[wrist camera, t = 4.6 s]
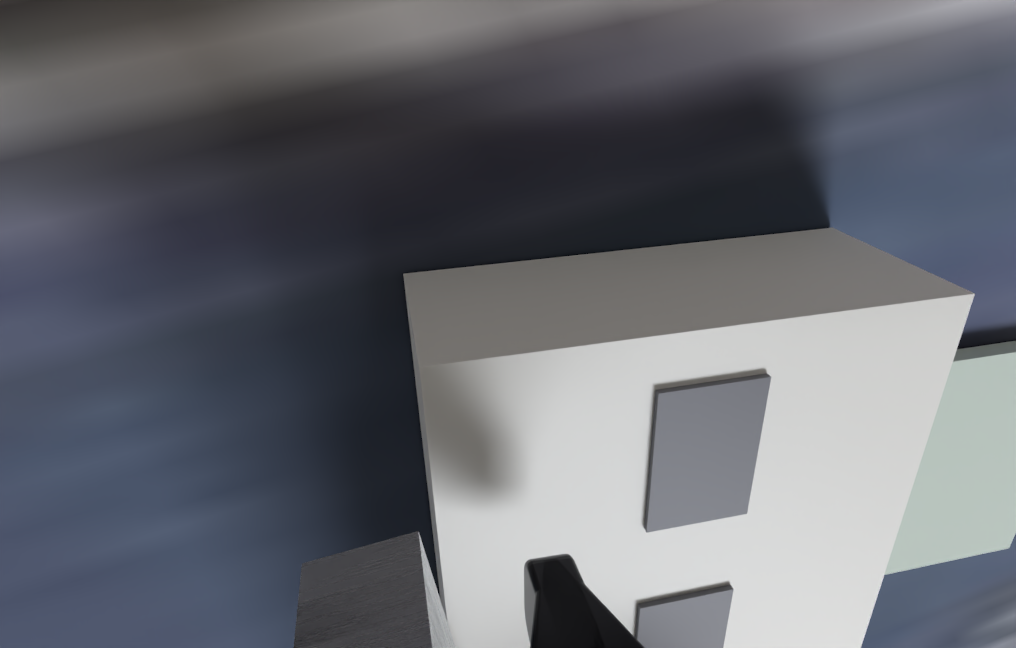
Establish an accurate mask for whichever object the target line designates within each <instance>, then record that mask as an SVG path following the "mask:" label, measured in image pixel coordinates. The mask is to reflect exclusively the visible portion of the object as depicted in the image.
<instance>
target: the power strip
mask: <svg viewBox="0 0 1016 648" xmlns="http://www.w3.org/2000/svg"><path fill="white" fill-rule="evenodd" d="M403 277H404V286H405V294H406V303H407V312H408V321H409V329H410V338H411V347H412V356H413V364H414V373H415V382H416V391H417V399H418V408H419V417H420V426H421V434H422V443H423V452H424V460H425V469H426V478H427V487H428V495H429V504H430V513H431V522H432V530H433V539H434V548H435V557H436V565H437V574H438V583H439V592H440V600H441V604H442V607H443V610H444V613H445V616H446V619H447V622H448V626H449V629H450V632H451V635H452V638H453V641H454V644H455V648H530V642H529V636H528V631H527V626H526V619H525V610H524V565H525V562H526V561H527V560H529V559H534V558H541V557H547V556H553V555H560V554H569V555H571V556H572V558H573V559H574V561H575V563H576V565H577V568H578V570H579V572H580V574H581V577H582V579H583V581H584V583H585V585H586V586H587V587H588V588H589V589H590V590H591V591H592V592H593V594H594V595H595V596H596V597H597V598H598V599H599V600H600V601H601V602H602V603H603V604H604V605H605V606H606V607H607V608H608V609H609V610H610V612H611V613H612V614H613V615H614V616H615V617H616V618H617V619H618V620H619V621H620V622H621V623H622V624H623V625H624V626H625V627H626V628H627V629H628V631H629V632H630V633H631V634H632V635H633V636H634V637H635V638H636V639H637V640H638V641H639V642H640V643H641V644H642V645H643V646H644V647H645V648H861V645H862V642H863V639H864V636H865V633H866V630H867V627H868V624H869V621H870V617H871V614H872V611H873V608H874V605H875V602H876V599H877V596H878V593H879V590H880V586H881V583H882V580H883V577H884V574H885V571H886V568H887V565H888V562H889V558H890V555H891V552H892V549H893V546H894V543H895V540H896V537H897V534H898V531H899V527H900V524H901V521H902V518H903V515H904V512H905V509H906V506H907V503H908V499H909V496H910V493H911V490H912V487H913V484H914V481H915V478H916V475H917V472H918V468H919V465H920V462H921V459H922V456H923V453H924V450H925V447H926V444H927V441H928V437H929V434H930V431H931V428H932V425H933V422H934V419H935V416H936V413H937V409H938V406H939V403H940V400H941V397H942V394H943V391H944V388H945V385H946V382H947V378H948V375H949V372H950V369H951V366H952V363H953V360H954V357H955V354H956V351H957V347H958V344H959V341H960V338H961V335H962V332H963V329H964V326H965V323H966V319H967V316H968V313H969V310H970V307H971V304H972V301H973V298H974V295H975V294H974V293H972V292H970V291H968V290H966V289H964V288H962V287H959V286H957V285H955V284H953V283H951V282H949V281H946V280H944V279H942V278H940V277H938V276H936V275H933V274H931V273H929V272H927V271H925V270H923V269H920V268H918V267H916V266H914V265H912V264H910V263H907V262H905V261H903V260H901V259H899V258H897V257H895V256H892V255H890V254H888V253H886V252H884V251H882V250H879V249H877V248H875V247H873V246H871V245H869V244H866V243H864V242H862V241H860V240H858V239H856V238H853V237H851V236H849V235H847V234H845V233H843V232H841V231H838V230H836V229H834V228H825V229H815V230H806V231H797V232H787V233H778V234H769V235H760V236H750V237H741V238H732V239H722V240H713V241H704V242H694V243H685V244H676V245H666V246H657V247H648V248H638V249H629V250H620V251H610V252H601V253H592V254H582V255H573V256H564V257H554V258H545V259H536V260H526V261H517V262H508V263H499V264H489V265H480V266H471V267H461V268H452V269H443V270H433V271H424V272H415V273H405V274H403Z"/></svg>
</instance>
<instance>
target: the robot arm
mask: <svg viewBox="0 0 1016 648" xmlns="http://www.w3.org/2000/svg"><path fill="white" fill-rule="evenodd" d="M524 610H525V619H526V626H527V631H528V636H529V642H530V648H645V647H644V646H643V645H642V644H641V643H640V642H639V641H638V640H637V639H636V638H635V637H634V636H633V635H632V634H631V633H630V632H629V631H628V629H627V628H626V627H625V626H624V625H623V624H622V623H621V622H620V621H619V620H618V619H617V618H616V617H615V616H614V615H613V614H612V613H611V612H610V610H609V609H608V608H607V607H606V606H605V605H604V604H603V603H602V602H601V601H600V600H599V599H598V598H597V597H596V596H595V595H594V594H593V592H592V591H591V590H590V589H589V588H588V587H587V586H586V585H585V583H584V581H583V579H582V577H581V574H580V572H579V570H578V568H577V565H576V563H575V561H574V559H573V558H572V556H571V555H569V554H560V555H553V556H547V557H541V558H534V559H529V560H527V561H526V562H525V565H524Z"/></svg>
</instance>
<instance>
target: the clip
mask: <svg viewBox="0 0 1016 648" xmlns="http://www.w3.org/2000/svg"><path fill="white" fill-rule="evenodd" d="M294 648H455V644H454V641H453V638H452V635H451V632H450V629H449V626H448V622H447V619H446V616H445V613H444V610H443V607H442V604H441V600H440V597H439V594H438V591H437V588H436V585H435V581H434V578H433V575H432V572H431V569H430V566H429V563H428V559H427V556H426V553H425V550H424V547H423V544H422V541H421V537H420V534H419V531H417V532H413V533H410V534H406V535H402V536H399V537H395V538H392V539H388V540H385V541H381V542H377V543H374V544H370V545H367V546H363V547H360V548H356V549H352V550H349V551H345V552H342V553H338V554H335V555H331V556H327V557H324V558H320V559H317V560H313V561H310V562H306V563H302V569H301V579H300V589H299V599H298V609H297V619H296V629H295V639H294Z"/></svg>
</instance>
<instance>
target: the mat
mask: <svg viewBox="0 0 1016 648" xmlns="http://www.w3.org/2000/svg"><path fill="white" fill-rule="evenodd" d="M1015 533H1016V341H1010V342H1003V343H997V344H990V345H983V346H977V347H970V348H963V349H957V351H956V354H955V357H954V360H953V363H952V366H951V369H950V372H949V375H948V378H947V382H946V385H945V388H944V391H943V394H942V397H941V400H940V403H939V406H938V409H937V413H936V416H935V419H934V422H933V425H932V428H931V431H930V434H929V437H928V441H927V444H926V447H925V450H924V453H923V456H922V459H921V462H920V465H919V468H918V472H917V475H916V478H915V481H914V484H913V487H912V490H911V493H910V496H909V499H908V503H907V506H906V509H905V512H904V515H903V518H902V521H901V524H900V527H899V531H898V534H897V537H896V540H895V543H894V546H893V549H892V552H891V555H890V558H889V562H888V565H887V568H886V571H885V574H884V575H886V574H891V573H895V572H900V571H905V570H909V569H914V568H919V567H923V566H928V565H933V564H937V563H942V562H947V561H951V560H956V559H961V558H965V557H970V556H975V555H979V554H984V553H989V552H993V551H998V550H1003V549H1007V548H1009V547H1010V545H1011V543H1012V540H1013V538H1014V536H1015Z"/></svg>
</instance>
